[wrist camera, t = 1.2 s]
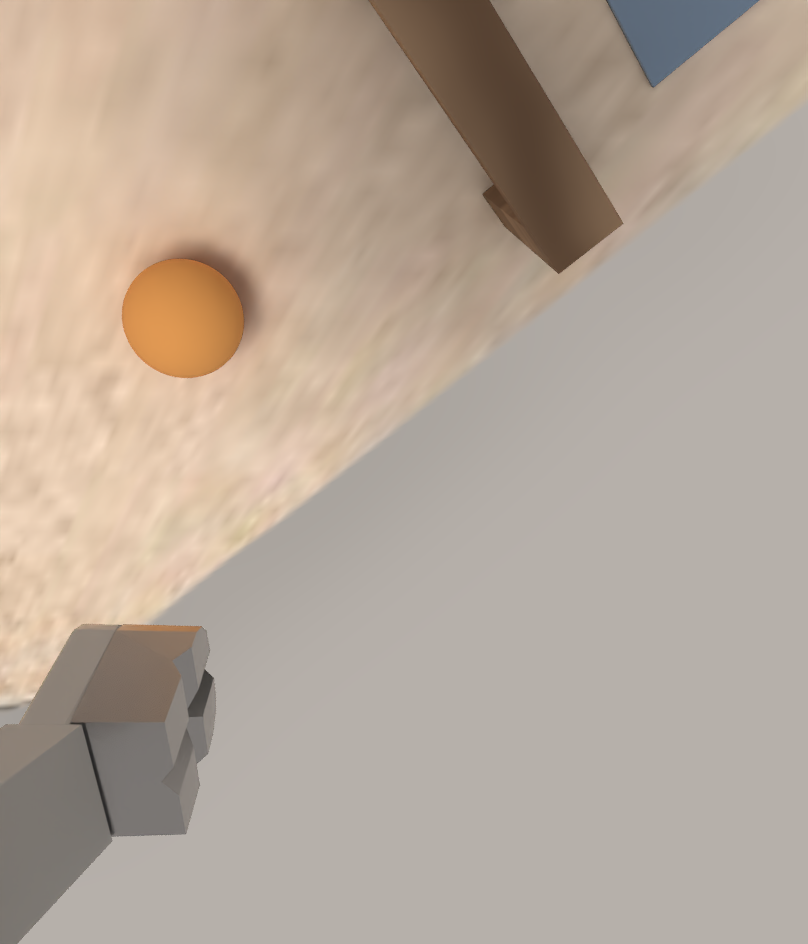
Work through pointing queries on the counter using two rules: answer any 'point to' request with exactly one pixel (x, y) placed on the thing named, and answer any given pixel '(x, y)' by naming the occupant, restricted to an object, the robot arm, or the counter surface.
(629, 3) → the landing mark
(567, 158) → the bridge
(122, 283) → the counter surface
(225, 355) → the ball
